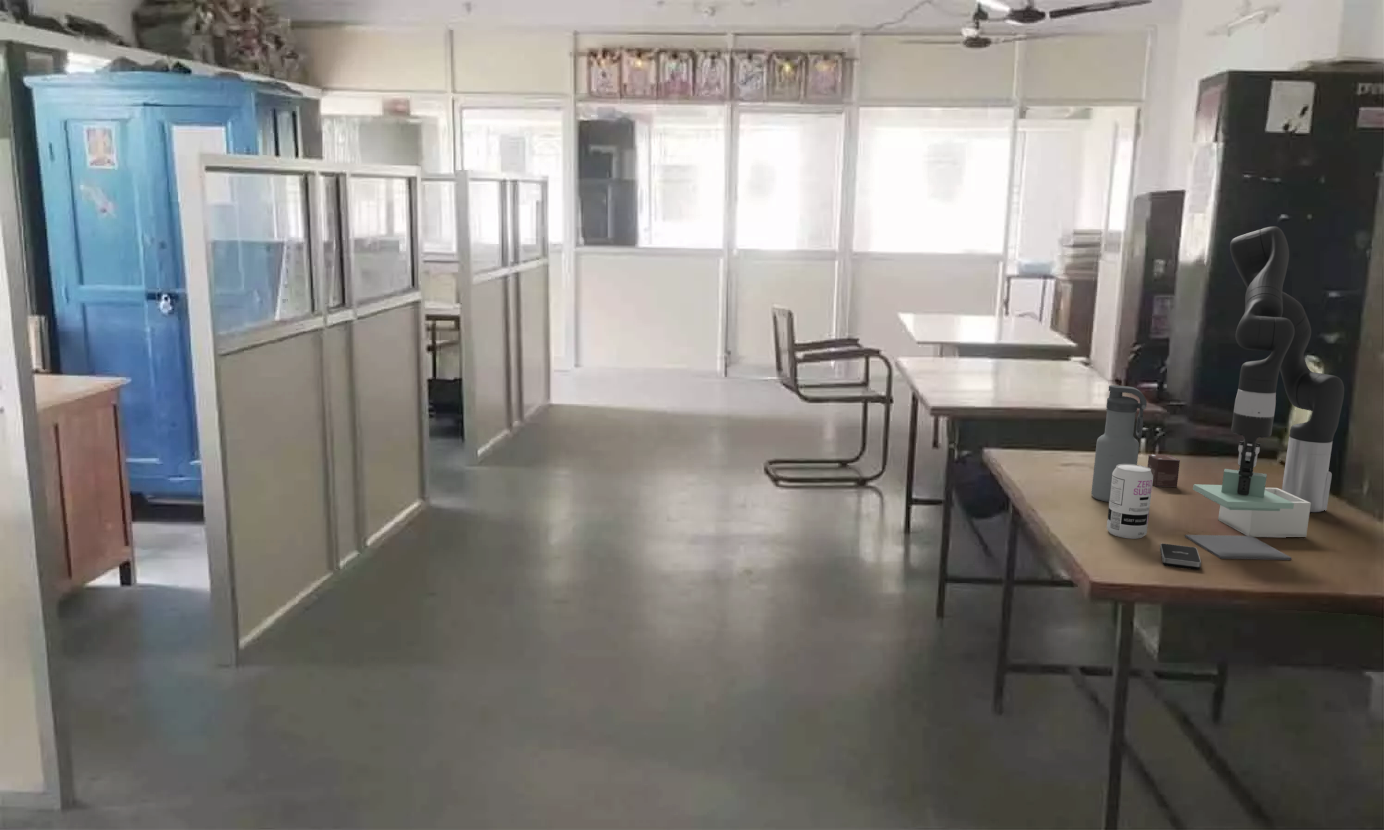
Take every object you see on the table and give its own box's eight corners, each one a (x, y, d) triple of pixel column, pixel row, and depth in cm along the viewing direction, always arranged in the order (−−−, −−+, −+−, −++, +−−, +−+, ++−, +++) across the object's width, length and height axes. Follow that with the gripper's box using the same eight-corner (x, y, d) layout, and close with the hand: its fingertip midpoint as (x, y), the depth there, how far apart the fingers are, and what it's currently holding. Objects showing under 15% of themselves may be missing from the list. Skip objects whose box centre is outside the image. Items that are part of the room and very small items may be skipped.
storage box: (1272, 521, 254) (1277, 487, 252) (1305, 537, 241) (1310, 502, 240) (1218, 520, 253) (1222, 486, 252) (1248, 536, 240) (1253, 501, 239)
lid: (1255, 495, 237) (1259, 465, 236) (1292, 513, 224) (1297, 481, 222) (1192, 494, 237) (1196, 464, 235) (1226, 511, 223) (1230, 480, 222)
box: (1177, 487, 283) (1180, 460, 282) (1154, 486, 283) (1157, 459, 282) (1168, 481, 289) (1171, 454, 288) (1145, 481, 289) (1148, 454, 288)
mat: (1251, 538, 239) (1251, 535, 239) (1291, 559, 225) (1291, 557, 225) (1184, 536, 239) (1185, 534, 239) (1220, 558, 224) (1220, 556, 224)
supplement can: (1113, 526, 245) (1120, 461, 242) (1151, 534, 240) (1159, 467, 237) (1100, 533, 239) (1108, 467, 236) (1139, 541, 234) (1147, 474, 231)
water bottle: (1132, 495, 273) (1144, 385, 268) (1136, 505, 264) (1149, 391, 258) (1089, 491, 275) (1100, 382, 270) (1092, 501, 266) (1104, 388, 261)
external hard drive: (1195, 556, 226) (1196, 547, 226) (1200, 572, 216) (1201, 563, 215) (1159, 552, 228) (1160, 543, 228) (1162, 567, 218) (1163, 558, 218)
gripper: (1274, 419, 219) (1262, 502, 222) (1274, 409, 231) (1262, 488, 234) (1232, 415, 222) (1222, 497, 225) (1234, 405, 234) (1224, 483, 237)
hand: (1242, 492), depth 230 cm, fingers closed on lid, 3 cm apart
